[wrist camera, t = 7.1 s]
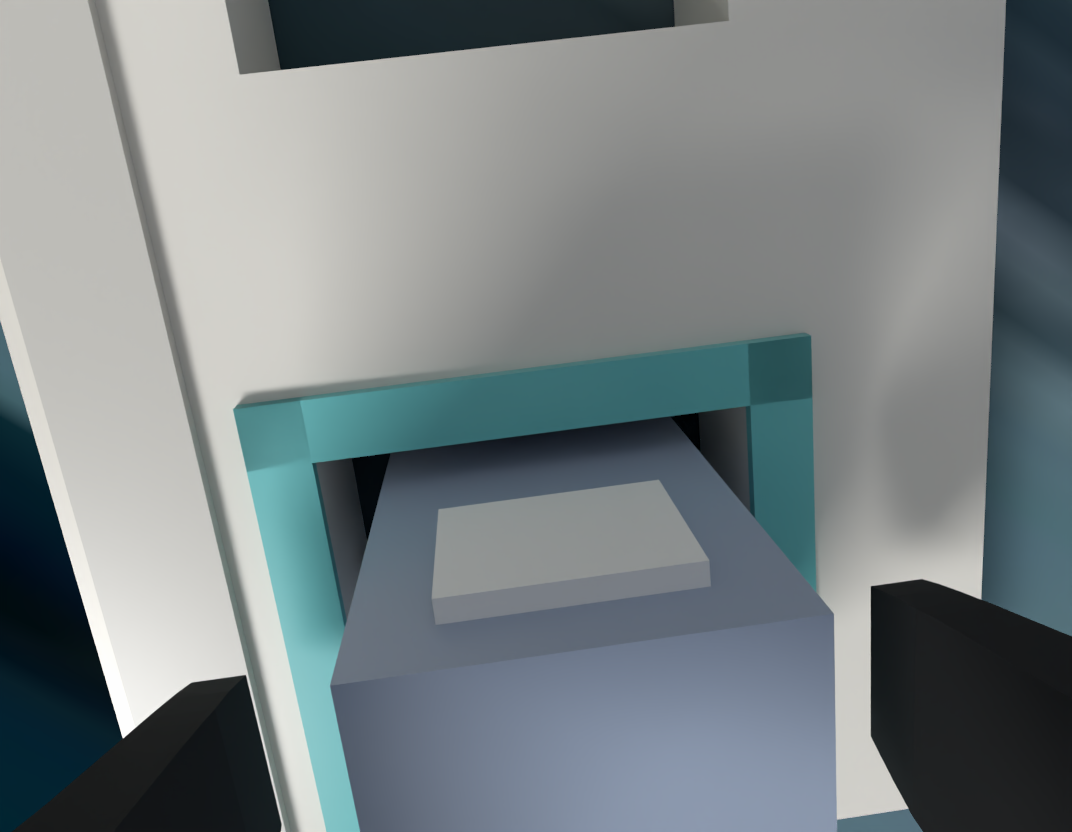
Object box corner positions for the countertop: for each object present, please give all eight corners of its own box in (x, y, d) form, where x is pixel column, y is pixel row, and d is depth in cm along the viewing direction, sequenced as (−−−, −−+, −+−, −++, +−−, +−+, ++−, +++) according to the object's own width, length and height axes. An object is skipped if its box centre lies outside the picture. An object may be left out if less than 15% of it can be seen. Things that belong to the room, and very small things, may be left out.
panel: (906, -582, 10) (1052, -833, 8) (893, 700, 15) (980, 808, 13) (-116, -502, 10) (-327, -744, 7) (222, 800, 15) (172, 933, 12)
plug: (650, 377, 13) (833, 584, 7) (668, 617, 15) (839, 996, 8) (395, 410, 13) (324, 656, 7) (434, 650, 14) (409, 1065, 8)
